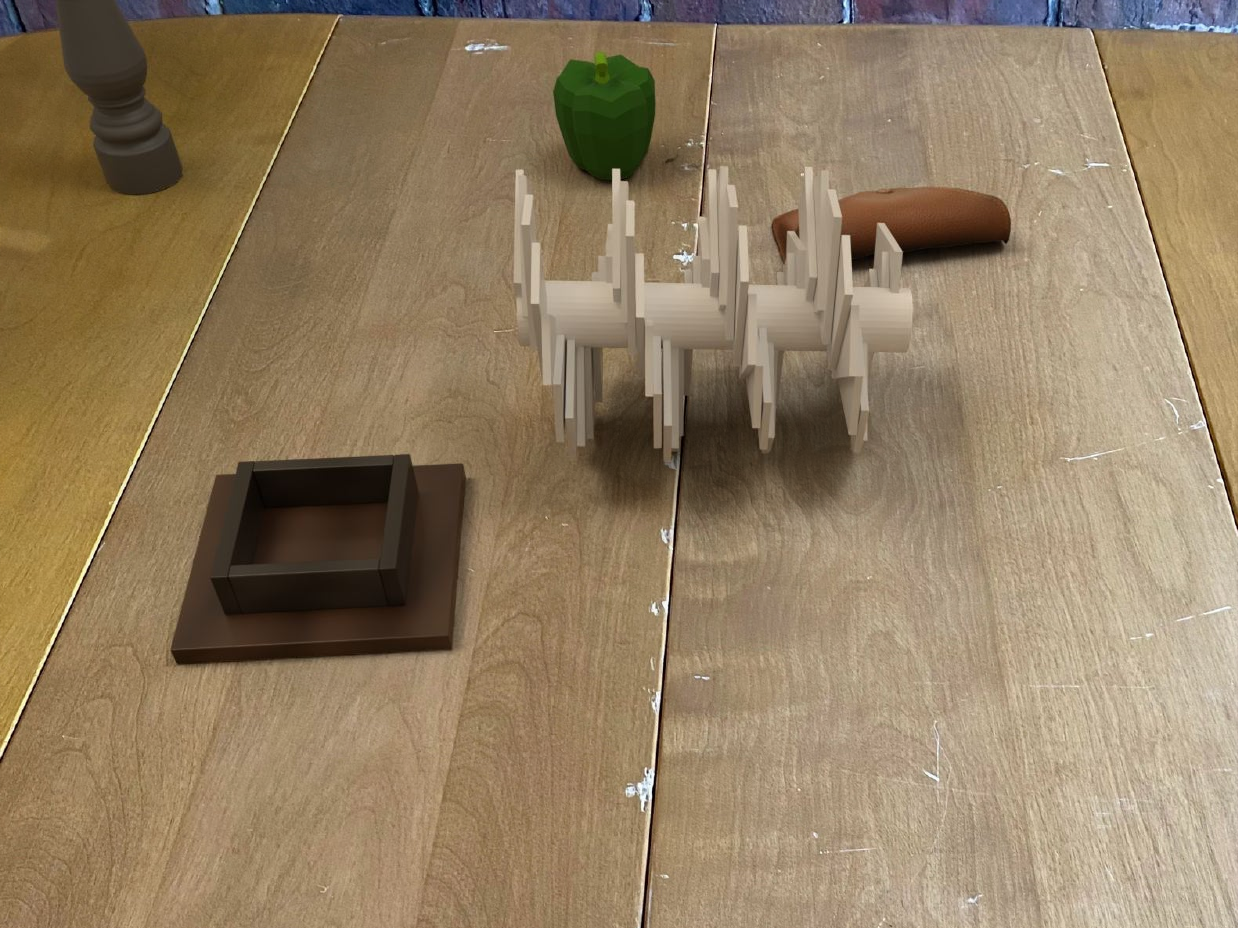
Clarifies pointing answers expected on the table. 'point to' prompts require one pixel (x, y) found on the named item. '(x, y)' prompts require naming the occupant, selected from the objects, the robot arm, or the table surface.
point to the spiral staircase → (710, 312)
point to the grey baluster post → (117, 96)
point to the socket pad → (324, 560)
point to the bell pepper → (605, 113)
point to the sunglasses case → (912, 219)
